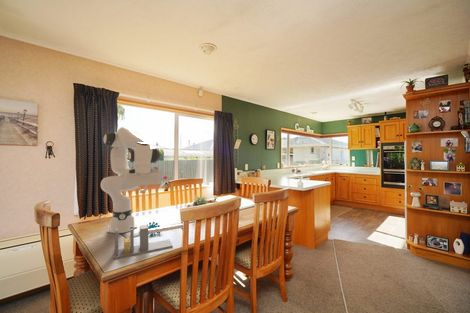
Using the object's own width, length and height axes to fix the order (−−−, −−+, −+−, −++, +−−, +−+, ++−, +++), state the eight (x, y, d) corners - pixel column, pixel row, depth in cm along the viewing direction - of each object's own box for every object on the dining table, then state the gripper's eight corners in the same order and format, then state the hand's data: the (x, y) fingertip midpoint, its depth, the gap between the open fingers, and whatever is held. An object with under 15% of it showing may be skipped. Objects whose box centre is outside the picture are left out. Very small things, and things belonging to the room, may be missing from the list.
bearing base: (114, 251, 118) (114, 226, 118) (169, 240, 132) (169, 218, 132) (113, 259, 109) (113, 232, 109) (172, 247, 124) (172, 223, 123)
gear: (142, 235, 137) (146, 220, 144) (142, 238, 142) (146, 224, 148) (160, 236, 140) (162, 222, 147) (160, 239, 144) (162, 225, 151)
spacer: (123, 249, 119) (123, 238, 119) (129, 248, 120) (129, 237, 120) (124, 254, 113) (123, 242, 113) (130, 252, 115) (130, 241, 115)
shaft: (138, 235, 123) (138, 225, 123) (186, 227, 136) (186, 218, 136) (139, 240, 116) (139, 230, 116) (189, 231, 129) (189, 222, 129)
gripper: (160, 168, 133) (160, 190, 133) (123, 169, 123) (123, 193, 124) (162, 169, 127) (161, 192, 128) (123, 170, 117) (123, 195, 118)
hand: (142, 192), depth 126 cm, fingers closed
